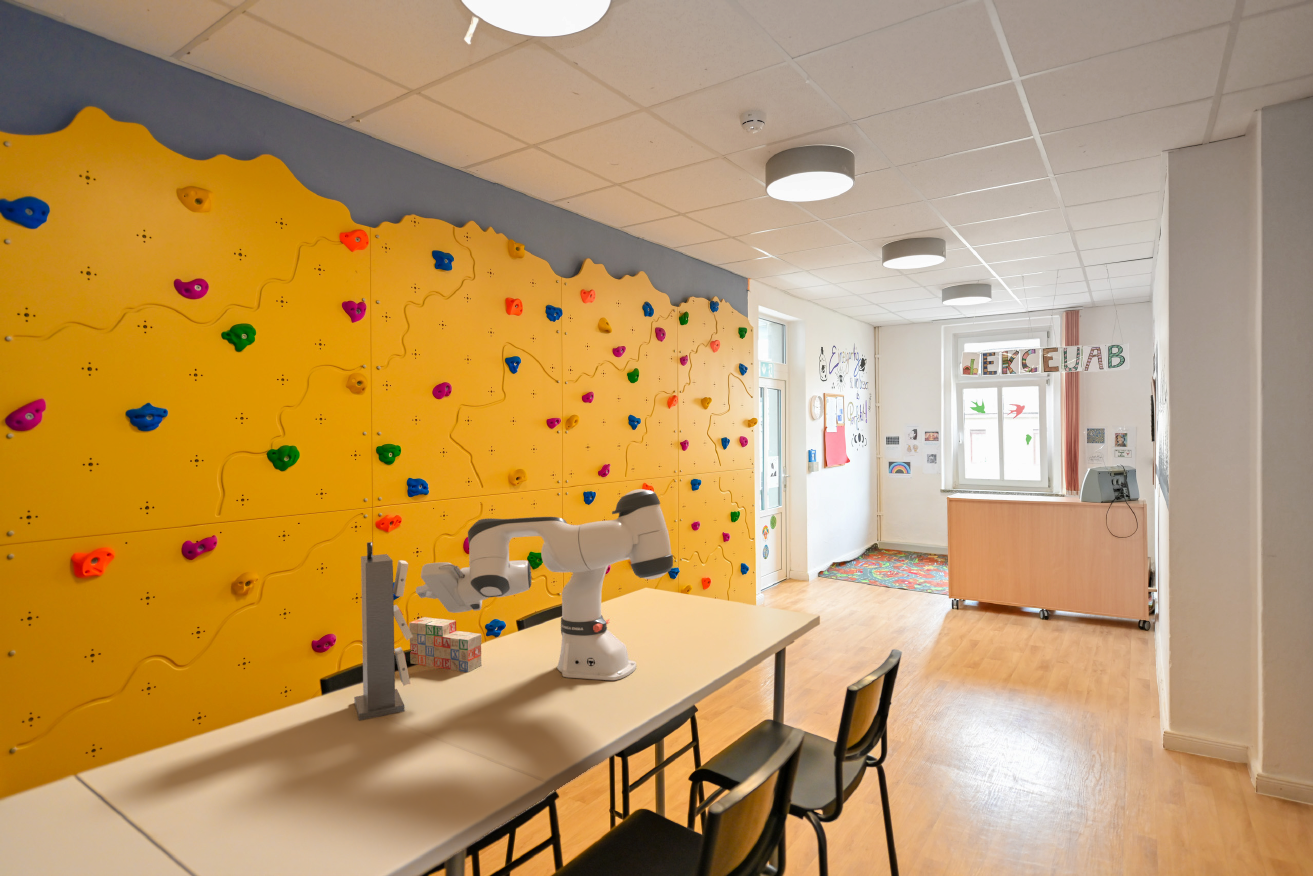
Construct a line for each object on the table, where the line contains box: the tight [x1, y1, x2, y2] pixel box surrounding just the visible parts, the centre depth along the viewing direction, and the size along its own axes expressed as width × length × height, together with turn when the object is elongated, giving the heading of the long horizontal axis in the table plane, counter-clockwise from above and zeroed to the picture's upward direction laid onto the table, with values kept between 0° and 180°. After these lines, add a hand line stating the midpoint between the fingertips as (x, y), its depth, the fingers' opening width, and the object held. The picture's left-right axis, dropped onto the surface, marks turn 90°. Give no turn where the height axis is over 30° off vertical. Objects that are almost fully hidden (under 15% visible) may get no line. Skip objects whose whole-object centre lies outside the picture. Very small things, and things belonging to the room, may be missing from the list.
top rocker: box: [393, 559, 409, 597], centre depth 166 cm, size 2×5×8 cm, turn 30°
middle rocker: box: [394, 604, 413, 641], centre depth 166 cm, size 2×5×8 cm, turn 29°
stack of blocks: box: [408, 616, 482, 673], centre depth 194 cm, size 21×6×12 cm, turn 66°
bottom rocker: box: [394, 646, 411, 687], centre depth 166 cm, size 2×5×8 cm, turn 29°
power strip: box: [353, 541, 406, 721], centre depth 164 cm, size 10×12×40 cm
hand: (418, 592), depth 173 cm, fingers closed
